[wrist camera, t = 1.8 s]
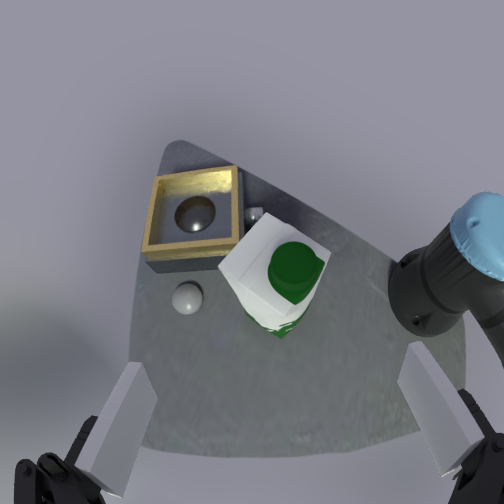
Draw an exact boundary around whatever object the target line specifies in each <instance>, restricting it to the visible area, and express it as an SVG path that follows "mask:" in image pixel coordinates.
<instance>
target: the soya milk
mask: <svg viewBox="0 0 504 504" xmlns="http://www.w3.org/2000/svg"><path fill="white" fill-rule="evenodd" d="M330 255H331V252H330V251H328V250H327V249H325V248H324V247H322V246H321V245H319V244H318V243H316V242H315V241H313V240H312V239H310V238H309V237H307V236H306V235H304V234H303V233H301V232H299V231H298V230H297V229H296V228H294V227H293V226H291V225H289V224H285V223H283V222H282V221H280V220H279V219H277V218H275V217H274V216H272V215H270V214H269V213H267V212H266V213H265V214H264V215H263V216H262V217H261V218H260V219H259V220H258V222H257V223H256V224H255V225H254V226H253V227H252V228H251V229H250V230H249V232H248V233H247V234H246V235H245V236H244V237H243V238H242V239H241V241H240V242H239V243H238V244H237V245H236V246H235V247H234V248H233V249H232V251H231V252H230V253H229V254H228V255H227V256H226V257H225V258H224V260H223V261H222V262H221V263H220V264H219V265H218V268H219V269H220V270H221V272H222V273H223V275H224V276H225V278H226V279H227V281H228V282H229V284H230V285H231V287H232V288H233V290H234V291H235V293H236V294H237V296H238V298H239V300H240V302H241V304H242V306H243V308H244V310H245V312H246V314H247V315H248V316H249V317H250V318H251V319H252V320H253V321H255V322H256V323H257V324H259V325H260V326H261V327H263V328H264V329H266V330H267V331H269V332H270V333H272V334H274V335H276V336H278V337H279V338H282V337H283V336H285V335H286V334H287V333H288V332H289V331H290V330H291V329H292V328H293V327H294V326H295V325H296V324H297V323H298V321H299V320H300V319H301V318H302V317H303V315H304V314H305V313H306V311H307V309H308V308H309V306H310V303H311V301H312V298H313V296H314V293H315V291H316V288H317V286H318V283H319V281H320V279H321V276H322V274H323V272H324V269H325V267H326V264H327V262H328V260H329V257H330Z"/></svg>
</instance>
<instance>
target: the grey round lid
mask: <svg viewBox="0 0 504 504" xmlns="http://www.w3.org/2000/svg"><path fill="white" fill-rule="evenodd" d="M172 303H173V306H174V308H175V309H176V310H177V311H178V312H180V313H182V314H184V315H191V314H194V313H196V312H197V311H198V310H199V309H200V308H201V306H202V303H203V295H202V293H201V291H200V290H199V289H198V287H196V286H195V285H193V284H183V285H181V286H179V287H178V288H177V289H176V290H175V291H174V293H173V296H172Z"/></svg>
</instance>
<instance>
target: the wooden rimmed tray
mask: <svg viewBox="0 0 504 504" xmlns="http://www.w3.org/2000/svg"><path fill="white" fill-rule="evenodd" d="M262 216H263V207H252V208H246V199H245V186H244V181H243V175H242V172H239V171H238V166H237V165H232V166H224V167H216V168H208V169H201V170H194V171H187V172H181V173H175V174H169V175H163V176H157V177H155V180H154V184H153V188H152V193H151V198H150V203H149V209H148V214H147V220H146V225H145V231H144V238H143V244H142V251H141V252H142V253H143V254H144V255H145V256H146V258H145V262H146V263H147V264H148V265H149V266H150V267H151V268H152V269H153V270H154V271H155V272H156V273H172V272H187V271H201V270H215V269H219V268H218V265H219V264H220V263H221V262H222V261H223V260H224V258H225V257H226V256H227V255H228V254H229V253H230V252H231V251H232V249H233V248H234V247H235V246H236V245H237V244H238V243H239V242H240V241H241V239H242V238H243V237H244V236H245V235H246V234H247V226H252V225H255V224H256V223H257V222H258V220H259V219H260V218H261V217H262Z"/></svg>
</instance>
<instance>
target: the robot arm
mask: <svg viewBox="0 0 504 504" xmlns="http://www.w3.org/2000/svg"><path fill="white" fill-rule="evenodd" d="M389 299H390V304H391V307H392V310H393V312H394V314H395V316H396V318H397V319H398V321H399V322H400V323H401V324H402V326H403V327H405V328H406V329H407V330H408V331H410V332H411V333H413V334H415V335H418V336H422V337H433V336H436V335H439V334H442V333H444V332H446V331H448V330H449V329H450V328H452V327H453V326H454V325H455V324H456V322H457V321H458V320H459V319H460V317H461V316H462V315H463V313H464V312H465V311H467V310H470V311H471V313H472V314H473V316H474V317H475V319H476V320H477V322H478V323H479V324H480V326H481V328H482V329H483V331H484V333H485V334H486V336H487V338H488V339H489V341H490V343H491V344H492V346H493V348H494V349H495V351H496V353H497V354H498V356H499V358H500V360H501V362H502V366H503V368H504V196H502V195H500V194H496V193H495V194H494V193H491V192H481V193H477V194H475V195H473V196H472V197H471V198H470V199H469V200H468V201H467V202H466V203H465V204H464V205H463V206H462V207H461V208H459V209H458V210H457V211H456V212H455V213H454V214H453V216H452V218H451V221H450V222H449V223H448V224H447V226H446V227H445V228H444V229H443V230H442V231H441V232H440V233H439V234H438V235H437V237H436V238H435V239H434V240H433V241H432V242H431V243H430V244H429V245H428V246H425V247H422V248H419V249H416V250H413V251H411V252H409V253H408V254H406V255H405V256H404V257H403V258H402V259H401V260H400V261H399V262H398V264H397V265H396V266H395V268H394V269H393V271H392V274H391V277H390V281H389ZM397 383H398V385H399V387H400V389H401V391H402V393H403V395H404V397H405V399H406V401H407V403H408V405H409V407H410V409H411V411H412V413H413V415H414V417H415V419H416V421H417V424H418V426H419V428H420V430H421V432H422V434H423V437H424V439H425V441H426V443H427V446H428V448H429V450H430V452H431V455H432V457H433V460H434V462H435V464H436V467H437V469H438V471H439V474H440V476H441V477H442V476H444V475H446V474H448V473H450V472H452V471H454V470H455V469H456V468H457V467H458V466H459V465H460V464H461V466H462V469H461V470H460V471H459V472H458V473H457V474H456V475H455V476H454V477H453V480H455V479H456V478H457V477H458V479H457V482H456V485H455V487H454V490H453V493H452V495H451V498H450V500H449V503H448V504H504V434H502V433H496V432H495V431H494V430H493V428H492V426H491V425H490V423H489V421H488V420H487V418H486V417H485V415H484V413H483V412H482V410H480V407H479V406H478V404H476V401H475V400H474V398H473V397H472V395H471V394H470V393H468V392H467V391H466V390H464V389H461V390H459V391H456V389H455V388H454V386H453V385H452V383H451V382H450V380H449V379H448V378H447V376H446V375H445V373H444V372H443V370H442V369H441V367H440V366H439V365H438V363H437V362H436V360H435V359H434V358H433V356H432V355H431V353H430V352H429V351H428V349H427V348H426V347H425V345H424V344H423V343H422V341H417V342H413V343H409V344H408V348H407V351H406V355H405V358H404V362H403V365H402V368H401V371H400V374H399V378H398V380H397ZM157 399H158V398H157V396H156V394H155V392H154V390H153V387H152V385H151V383H150V381H149V378H148V376H147V374H146V371H145V369H144V367H143V364H142V363H139V362H129V363H128V364H127V366H126V368H125V370H124V372H123V373H122V375H121V377H120V378H119V380H118V382H117V384H116V386H115V387H114V389H113V391H112V393H111V395H110V397H109V398H108V400H107V402H106V404H105V406H104V408H103V409H102V411H101V413H100V415H99V417H97V416H91V417H90V418H88V419H87V420H86V421H85V422H84V424H83V426H82V428H81V430H80V432H79V433H78V435H77V438H76V439H75V441H74V442H73V444H72V446H71V448H70V450H69V452H68V454H67V456H66V458H65V460H64V461H62V460H61V459H60V458H59V457H58V456H57V455H56V454H53V453H45V454H43V455H41V457H40V458H39V459H38V461H37V465H35V464H34V463H33V462H32V461H31V460H29V459H22V460H20V461H19V462H18V463H17V465H16V469H15V483H14V504H106V503H105V501H104V499H103V497H102V495H101V494H100V491H101V489H103V490H104V491H105V492H106V493H108V494H110V495H113V496H117V497H120V498H123V495H124V492H125V489H126V486H127V482H128V480H129V477H130V474H131V471H132V468H133V465H134V462H135V460H136V457H137V454H138V451H139V448H140V445H141V443H142V440H143V437H144V434H145V432H146V429H147V426H148V423H149V421H150V418H151V415H152V413H153V410H154V407H155V405H156V402H157ZM42 496H43V499H42Z"/></svg>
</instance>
